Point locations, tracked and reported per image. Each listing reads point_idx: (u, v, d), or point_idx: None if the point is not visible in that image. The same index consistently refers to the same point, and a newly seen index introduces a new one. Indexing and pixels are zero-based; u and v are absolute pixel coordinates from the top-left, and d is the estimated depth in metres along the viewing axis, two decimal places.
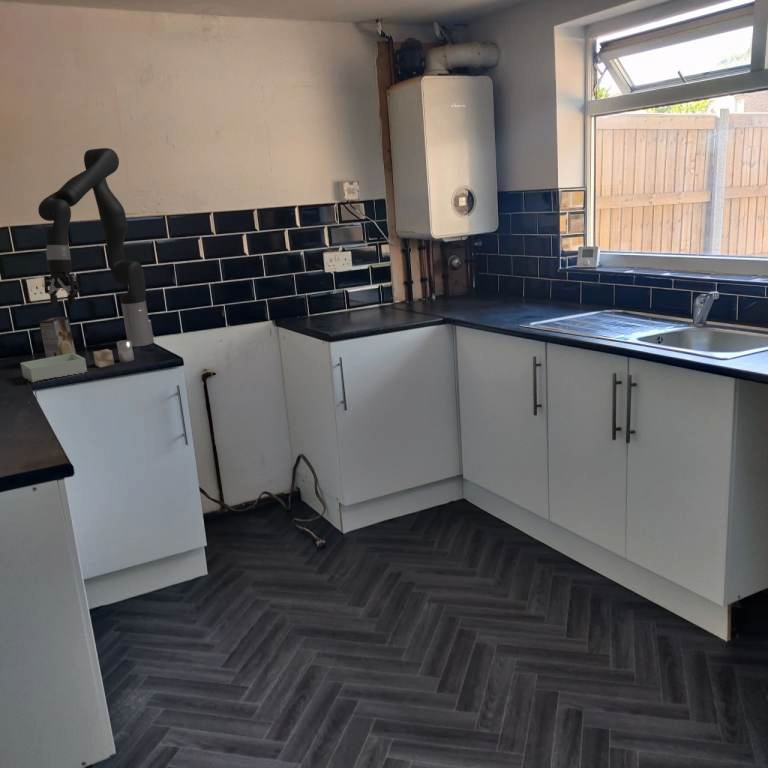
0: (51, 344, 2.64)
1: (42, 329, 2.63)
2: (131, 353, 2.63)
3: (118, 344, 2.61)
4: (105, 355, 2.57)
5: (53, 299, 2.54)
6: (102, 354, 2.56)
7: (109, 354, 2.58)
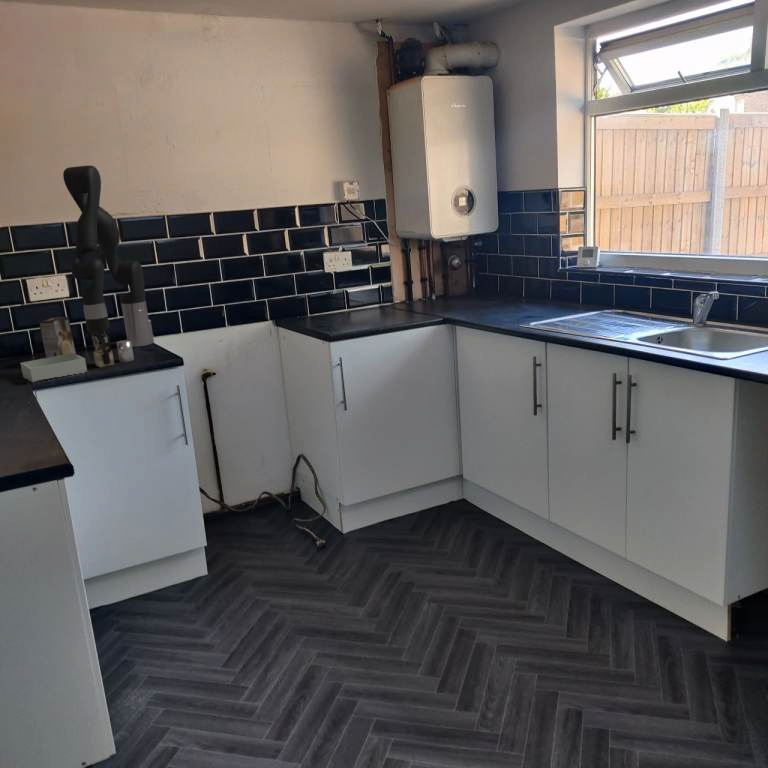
0: (51, 344, 2.64)
1: (42, 329, 2.63)
2: (131, 353, 2.63)
3: (118, 344, 2.61)
4: None
5: None
6: None
7: (109, 354, 2.58)
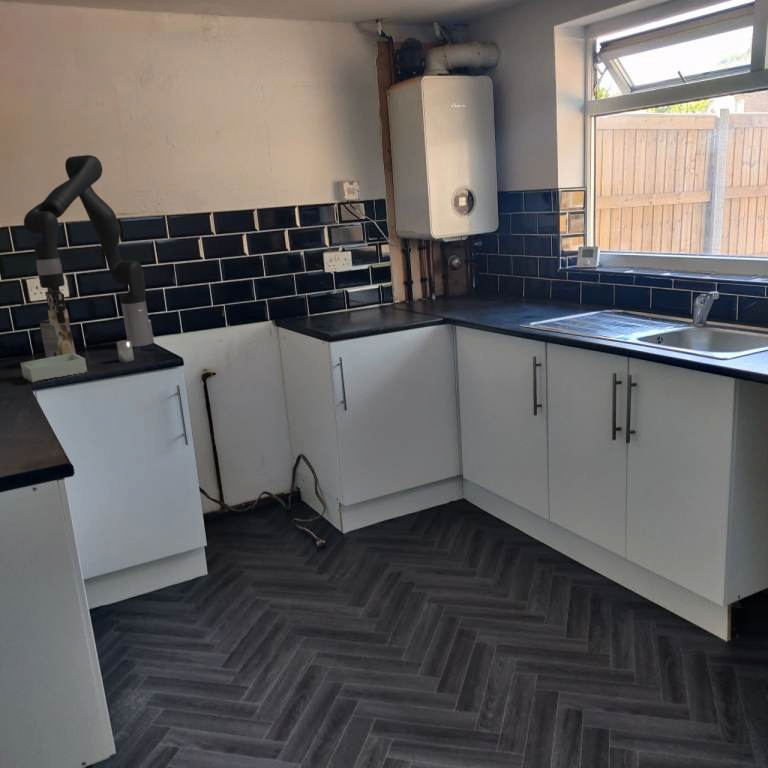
0: (51, 344, 2.64)
1: (42, 329, 2.63)
2: (131, 353, 2.63)
3: (118, 344, 2.61)
4: None
5: None
6: None
7: (64, 313, 2.46)
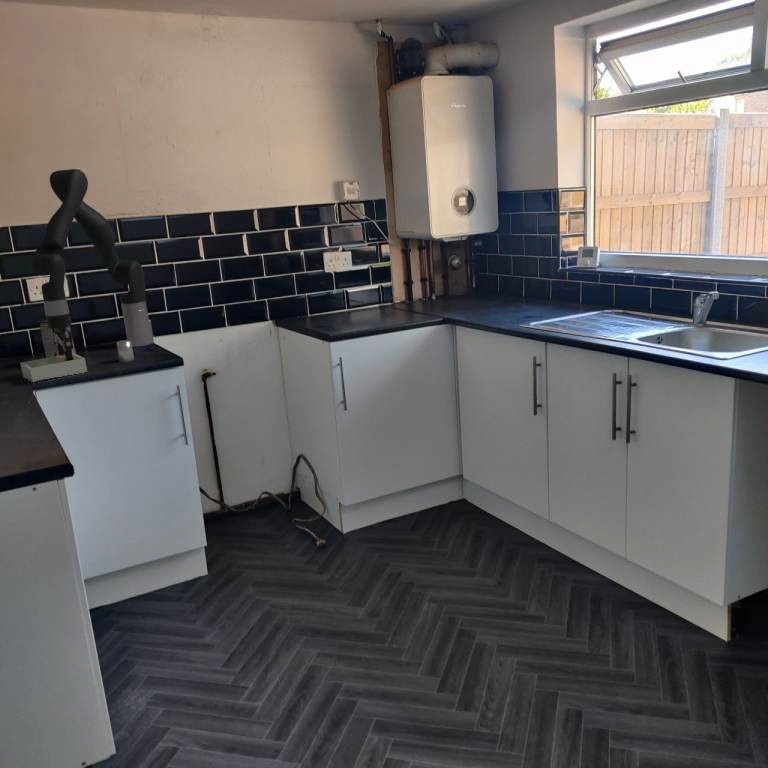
0: (51, 344, 2.64)
1: (42, 329, 2.63)
2: (131, 353, 2.63)
3: (118, 344, 2.61)
4: None
5: (60, 351, 2.53)
6: (65, 359, 2.48)
7: (73, 359, 2.50)
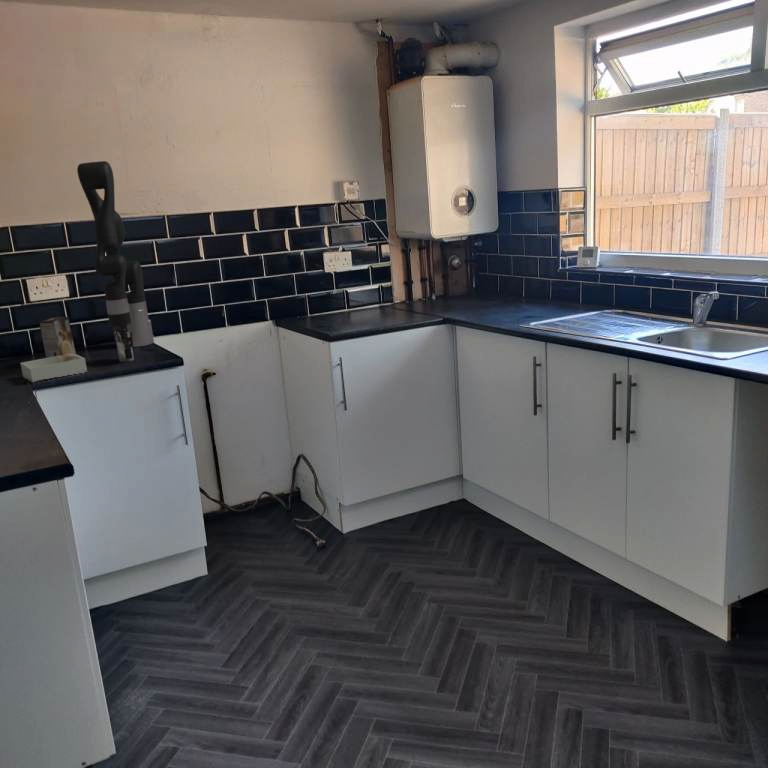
0: (51, 344, 2.64)
1: (42, 329, 2.63)
2: None
3: (118, 344, 2.61)
4: (68, 360, 2.49)
5: None
6: (65, 359, 2.48)
7: (73, 359, 2.50)
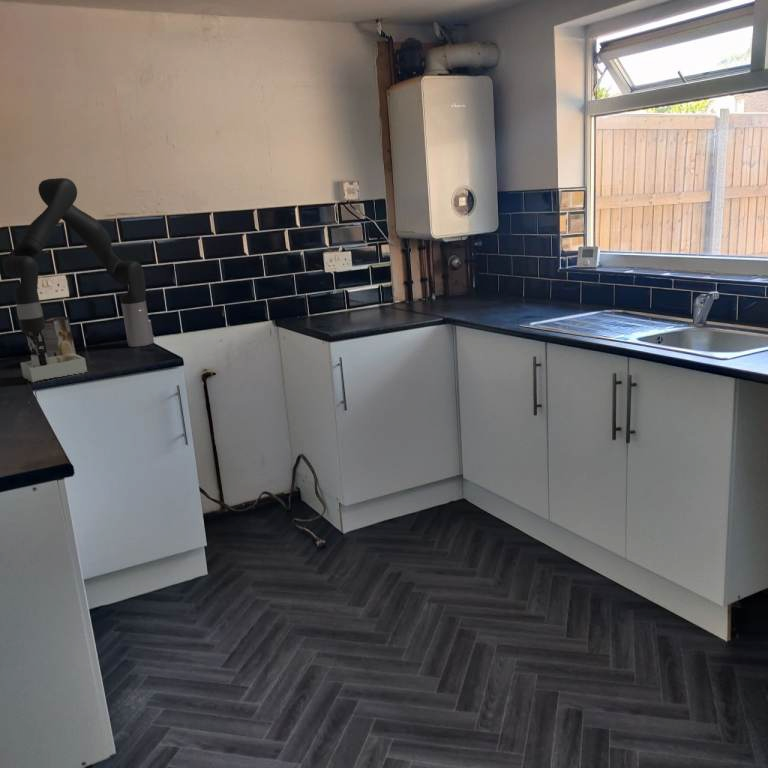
0: (51, 344, 2.64)
1: None
2: None
3: (32, 358, 2.43)
4: (68, 360, 2.49)
5: None
6: (65, 359, 2.48)
7: (73, 359, 2.50)
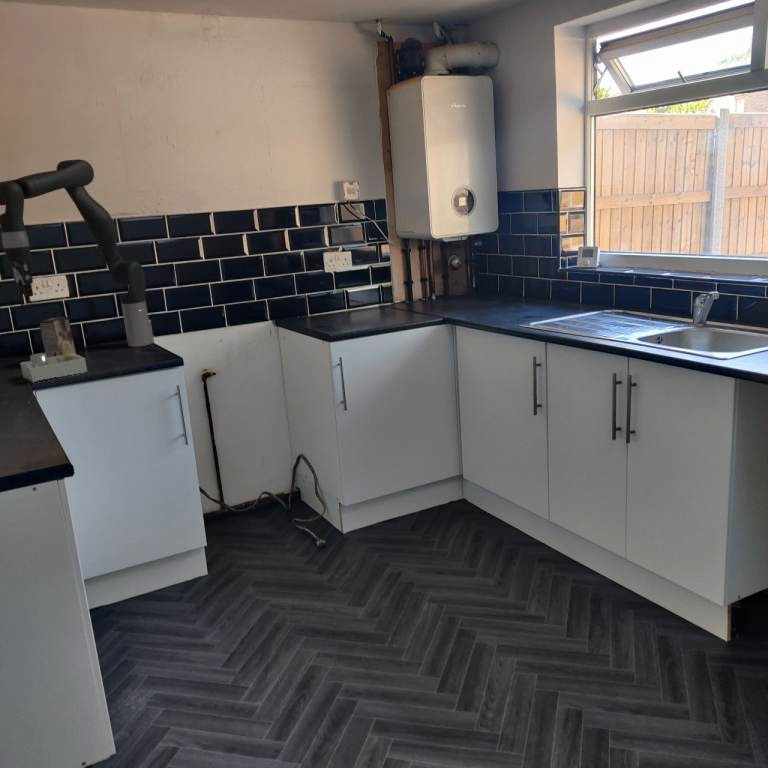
0: (51, 344, 2.64)
1: (42, 329, 2.63)
2: None
3: (31, 358, 2.43)
4: (68, 360, 2.49)
5: (20, 288, 2.42)
6: (65, 359, 2.48)
7: (73, 359, 2.50)
